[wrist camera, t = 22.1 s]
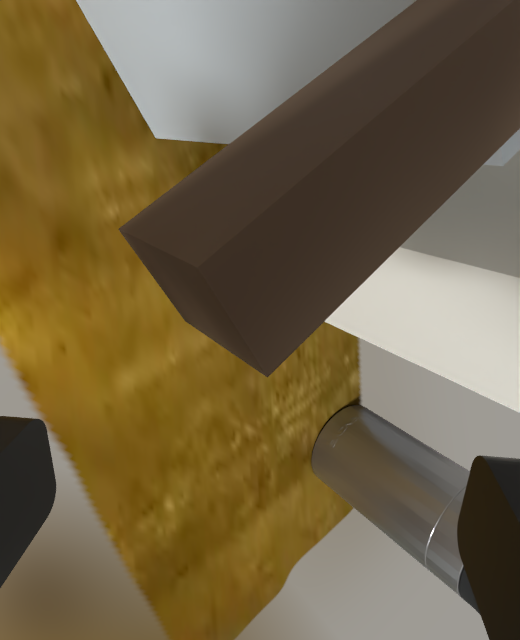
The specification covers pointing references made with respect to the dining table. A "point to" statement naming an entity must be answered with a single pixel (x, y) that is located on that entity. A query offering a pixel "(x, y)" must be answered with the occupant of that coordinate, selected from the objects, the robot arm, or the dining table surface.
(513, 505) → the robot arm
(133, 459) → the dining table surface
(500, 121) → the mallet
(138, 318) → the dining table surface
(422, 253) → the tall pedestal
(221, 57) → the short pedestal
